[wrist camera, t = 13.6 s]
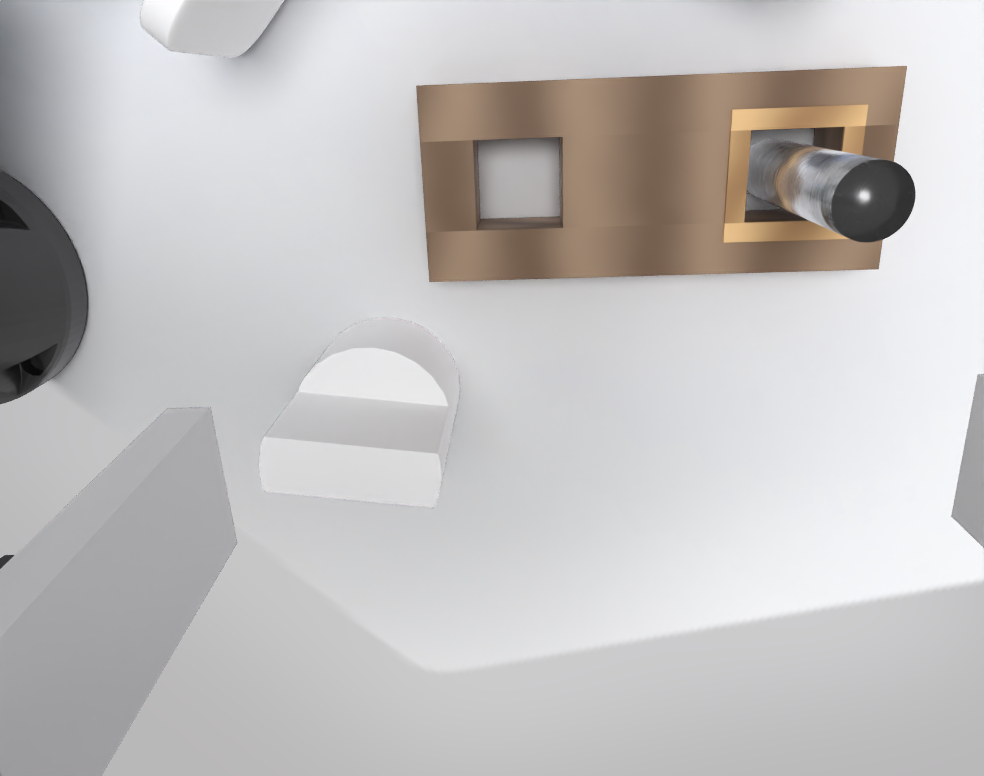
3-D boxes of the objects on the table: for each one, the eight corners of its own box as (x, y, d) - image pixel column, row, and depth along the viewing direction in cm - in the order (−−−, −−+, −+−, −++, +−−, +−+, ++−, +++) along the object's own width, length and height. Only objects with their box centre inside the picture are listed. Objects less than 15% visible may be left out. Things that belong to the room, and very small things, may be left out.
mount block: (437, 266, 46) (429, 282, 42) (425, 86, 43) (415, 85, 39) (849, 254, 45) (879, 269, 41) (872, 68, 42) (908, 65, 38)
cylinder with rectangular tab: (317, 443, 51) (259, 543, 40) (319, 310, 48) (256, 377, 36) (455, 456, 51) (435, 560, 40) (465, 324, 48) (448, 396, 36)
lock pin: (736, 198, 44) (826, 243, 31) (740, 139, 43) (836, 161, 30) (794, 196, 44) (908, 241, 31) (799, 137, 43) (921, 157, 30)
